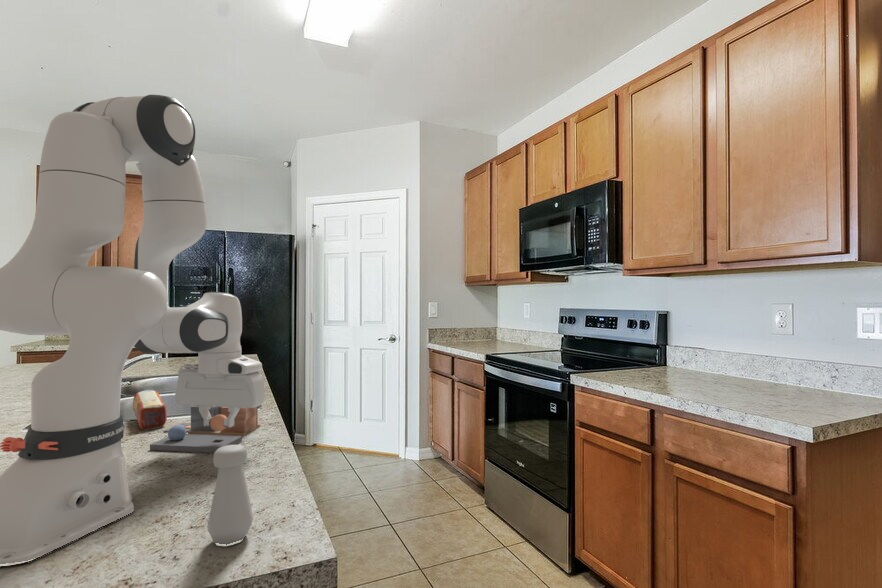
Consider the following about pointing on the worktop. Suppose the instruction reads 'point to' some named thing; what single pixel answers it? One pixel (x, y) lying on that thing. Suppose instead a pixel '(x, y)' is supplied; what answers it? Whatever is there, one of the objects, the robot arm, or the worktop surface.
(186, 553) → the worktop surface
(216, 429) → the ball terracotta
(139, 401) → the snack package
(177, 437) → the ball blue
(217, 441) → the grey flat slab
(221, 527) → the salt shaker
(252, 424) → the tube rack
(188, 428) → the card
